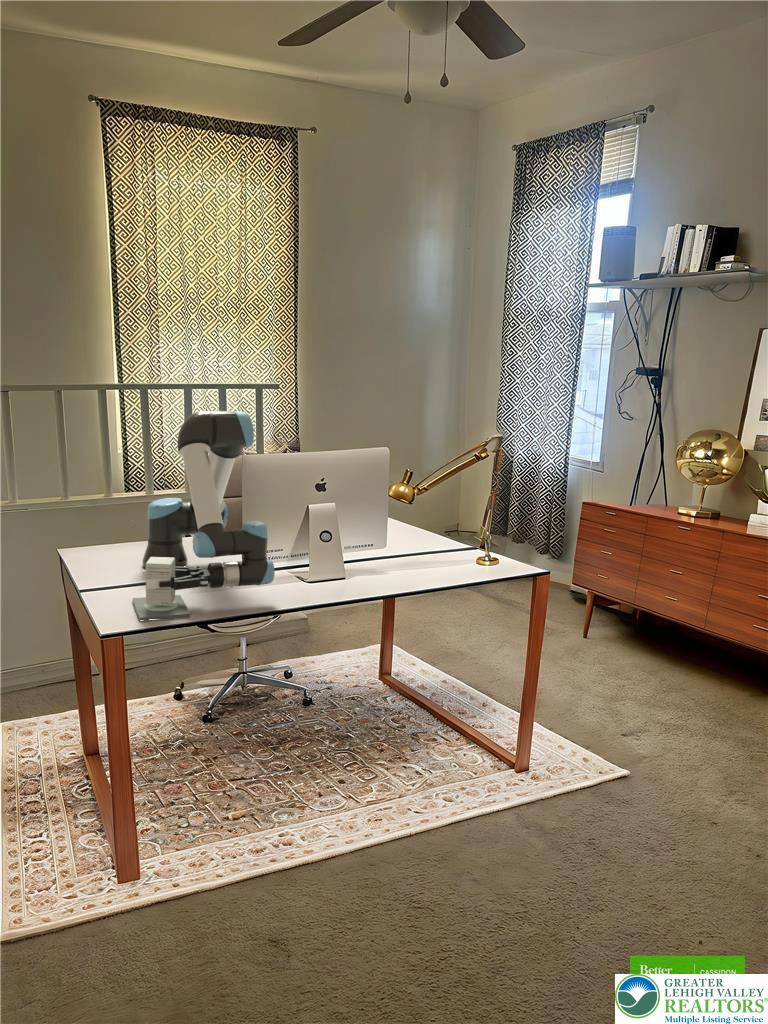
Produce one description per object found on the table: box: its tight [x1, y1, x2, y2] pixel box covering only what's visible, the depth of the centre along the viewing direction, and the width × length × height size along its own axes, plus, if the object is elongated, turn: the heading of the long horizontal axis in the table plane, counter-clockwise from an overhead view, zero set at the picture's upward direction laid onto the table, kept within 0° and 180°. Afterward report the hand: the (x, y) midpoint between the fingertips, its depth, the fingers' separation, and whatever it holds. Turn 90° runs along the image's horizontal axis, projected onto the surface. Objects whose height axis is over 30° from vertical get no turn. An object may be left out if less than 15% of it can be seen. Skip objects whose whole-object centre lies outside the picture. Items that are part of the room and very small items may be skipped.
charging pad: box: [132, 594, 191, 621], centre depth 233 cm, size 18×14×1 cm
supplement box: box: [145, 557, 176, 606], centre depth 231 cm, size 7×7×13 cm
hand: (144, 579), depth 229 cm, fingers closed on supplement box, 9 cm apart
